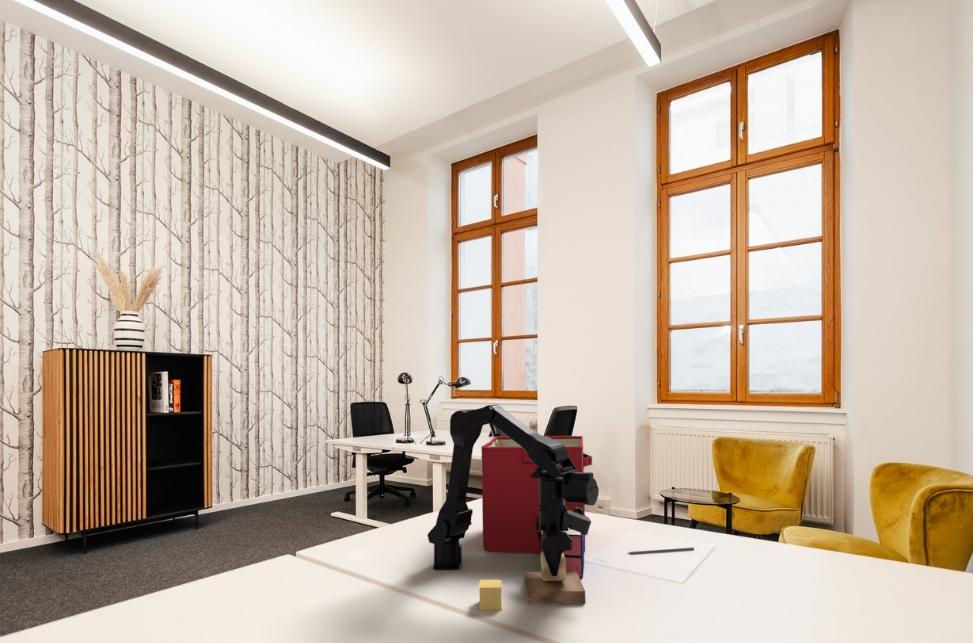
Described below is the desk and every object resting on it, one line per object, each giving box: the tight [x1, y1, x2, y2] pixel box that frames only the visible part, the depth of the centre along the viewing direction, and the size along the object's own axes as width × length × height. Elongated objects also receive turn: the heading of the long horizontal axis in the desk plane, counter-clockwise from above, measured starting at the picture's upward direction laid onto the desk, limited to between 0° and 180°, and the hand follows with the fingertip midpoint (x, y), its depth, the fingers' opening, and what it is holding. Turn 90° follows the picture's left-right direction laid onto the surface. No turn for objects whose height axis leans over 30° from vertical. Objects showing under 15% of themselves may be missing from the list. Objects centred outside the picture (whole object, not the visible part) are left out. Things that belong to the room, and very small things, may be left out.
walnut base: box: [524, 571, 586, 605], centre depth 125 cm, size 12×12×2 cm
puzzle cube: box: [540, 528, 585, 579], centre depth 140 cm, size 10×10×10 cm
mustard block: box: [478, 579, 503, 611], centre depth 118 cm, size 4×4×4 cm
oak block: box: [540, 552, 566, 581], centre depth 125 cm, size 5×5×4 cm
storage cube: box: [481, 435, 593, 555], centre depth 165 cm, size 32×28×29 cm
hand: (553, 571), depth 125 cm, fingers closed on oak block, 5 cm apart
